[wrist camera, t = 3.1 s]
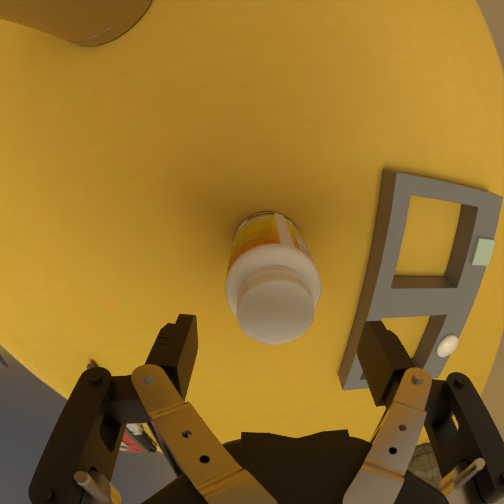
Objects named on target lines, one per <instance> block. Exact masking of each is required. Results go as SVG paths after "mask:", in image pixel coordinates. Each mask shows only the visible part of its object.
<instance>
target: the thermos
mask: <svg viewBox="0 0 504 504" xmlns="http://www.w3.org/2000/svg"><path fill="white" fill-rule="evenodd" d="M407 470H409V471H410V472H412V473H413V474H415V475H416V476H418V477H419V478H421V479H422V480H424V481H425V482H427V483H428V484H430V485H431V486H433V487H435V488H436V489H438V490H439V491H440V489H439V487H440V482H441V480H442V476H441V473H440V470H439V467H438V464H437V461H436V457H435V455H434V452H433V449H432V446H431V444H430V443H425V444H421V445H418V446H416V447H415V450H414V453H413V455H412V458H411V460H410V463H409V465H408V468H407Z"/></svg>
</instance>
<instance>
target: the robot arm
mask: <svg viewBox="0 0 504 504" xmlns="http://www.w3.org/2000/svg"><path fill="white" fill-rule="evenodd" d="M151 1H152V0H0V19H4V20H7V21H11V22H14V23H18V24H21V25H24V26H28V27H31V28H34V29H37V30H40V31H43V32H46V33H49V34H51V35H54V36H57V37H60V38H62V39H65V40H68V41H69V42H73V43H75V44H78V45H81V46H96V45H100V44H103V43H106V42H109V41H111V40H113V39H115V38H117V37H119V36H120V35H121V34H123V33H124V32H126V31H127V30H129V29H130V28H131V27H132V26H133V25H134V24H135V23H136V22H137V21H138V20H139V19H140V18H141V17H142V15H143V14H144V13H145V11H146V10H147V8H148V7H149V5H150V3H151ZM197 350H198V336H197V322H196V315H188V314H179V316H178V318H177V321H176V323H175V324H171V323H168V324H167V325H165V326H164V327H163V328H162V329H161V330H160V332H159V334H158V336H157V338H156V341H155V344H154V345H153V347H152V349H151V351H150V353H149V356H148V358H147V360H146V362H145V364H144V365H142V366H139V367H137V368H136V369H135V370H134V371H133V372H132V374H131V375H127V376H111V373H110V372H109V371H108V370H107V369H105V368H102V367H93V368H90V369H87V370H86V371H84V372H83V373H82V375H81V376H80V378H79V380H78V382H77V384H76V386H75V388H74V389H73V391H72V393H71V395H70V397H69V399H68V401H67V403H66V405H65V407H64V409H63V411H62V413H61V415H60V417H59V419H58V422H57V423H56V425H55V428H54V430H53V432H52V434H51V436H50V438H49V441H48V443H47V445H46V447H45V450H44V452H43V454H42V456H41V459H40V461H39V464H38V466H37V468H36V471H35V473H34V476H33V478H32V481H31V484H30V486H29V498H30V500H31V502H32V504H121V497H120V495H119V492H118V491H117V489H116V488H115V487H114V486H113V485H112V484H111V483H110V481H111V478H112V474H113V470H114V467H115V463H116V459H117V455H118V452H119V449H120V445H121V442H122V439H123V435H124V432H125V429H126V425H127V424H134V423H147V425H148V427H149V429H150V431H151V432H152V434H153V436H154V438H155V440H156V441H157V443H158V445H159V447H160V449H161V450H162V452H163V454H164V456H165V458H166V460H167V461H168V463H169V465H170V467H171V469H172V470H173V472H174V473H175V475H176V476H177V478H176V479H175V480H174V481H172V482H171V483H170V484H168V485H167V486H165V487H164V488H163V489H161V490H160V491H158V492H157V493H156V494H154V495H153V496H151V497H150V498H149V499H147V500H145V501H144V502H143V503H141V504H494V503H496V502H497V501H499V500H500V499H501V498H503V497H504V442H503V440H502V438H501V436H500V434H499V431H498V430H497V428H496V426H495V424H494V422H493V420H492V418H491V416H490V414H489V412H488V410H487V409H486V407H485V405H484V403H483V401H482V400H481V398H480V396H479V394H478V393H477V391H476V389H475V387H474V386H473V384H472V382H471V381H470V379H469V378H468V377H467V376H466V375H464V374H462V373H458V372H454V373H451V374H449V375H448V377H447V379H446V381H444V380H434V379H432V378H431V376H430V374H429V373H428V372H426V371H425V370H423V369H421V368H416V367H415V365H414V364H413V362H412V360H411V358H410V357H409V355H408V353H407V352H406V350H405V348H404V347H403V345H401V342H400V340H399V338H398V337H397V336H396V335H395V334H394V333H393V332H391V331H390V330H387V329H386V328H385V326H384V324H383V323H382V321H366V322H365V324H364V327H363V330H362V334H361V337H360V340H359V343H358V347H357V357H358V360H359V362H360V365H361V367H362V370H363V373H364V375H365V378H366V380H367V383H368V386H369V388H370V391H371V394H372V397H373V399H374V402H375V405H376V406H384V405H385V407H386V410H385V412H384V413H383V415H382V418H381V420H380V422H379V424H378V426H377V427H376V429H375V431H374V433H373V435H372V437H371V439H370V441H369V442H367V441H365V440H362V439H359V438H355V437H349V434H348V429H347V430H336V431H323V432H319V433H316V434H312V435H308V436H305V437H301V438H291V437H286V436H281V435H276V434H271V433H252V432H241V439H238V440H233V441H229V442H227V443H224V444H221V443H220V442H219V440H218V439H217V438H216V437H215V435H214V434H213V433H212V431H211V430H210V429H209V427H208V426H207V425H206V424H205V422H204V421H203V420H202V418H201V417H200V415H199V414H198V413H197V411H196V410H195V409H194V407H193V406H192V405H191V403H189V402H186V403H185V402H184V401H185V398H186V394H187V390H188V386H189V382H190V378H191V374H192V370H193V367H194V363H195V359H196V355H197ZM453 415H455V417H456V420H457V422H458V425H459V428H458V431H457V428H456V426H455V424H454V422H453V419H452V416H453ZM423 424H424V426H425V429H426V432H427V434H428V437H429V440H430V443H431V446H432V449H433V452H434V455H435V457H436V461H437V464H438V467H439V470H440V473H441V476H442V480H441V482H440V487H439V489H440V491H439V490H438V489H436V488H435V487H433V486H431V485H430V484H428V483H427V482H425V481H424V480H422V479H421V478H419V477H418V476H416V475H415V474H413V473H412V472H410V471H409V470H407V468H408V465H409V463H410V460H411V458H412V455H413V453H414V450H415V447H416V444H417V442H418V439H419V436H420V433H421V430H422V427H423Z"/></svg>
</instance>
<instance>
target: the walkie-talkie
mask: <svg viewBox="0 0 504 504" xmlns="http://www.w3.org/2000/svg"><path fill="white" fill-rule="evenodd" d="M90 368H93V366H92V365H91V364H88V365H87V369H90ZM156 450H157V448H156V447H155V446H154V445H153V444H152V440H151V439H150V438H149V437H148V436H147V435H146V434H145V433H144V432H143V428H142V427H141V423H134V424H127V425H126V429H125V432H124V435H123V439H122V442H121V445H120V449H119V451H121V452H122V453H124V454H131V455H148V453H149V451H150V452H156Z"/></svg>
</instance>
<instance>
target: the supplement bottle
mask: <svg viewBox="0 0 504 504" xmlns="http://www.w3.org/2000/svg"><path fill="white" fill-rule="evenodd" d="M225 293H226V299H227V302H228V305H229V307H230V309H231V310H232V312H233V313H234V314H235V315H236V316H237V320H238V323H239V325H240V327H241V329H242V330H243V331H244V333H245V334H247V335H248V336H249V337H250V338H252V339H254V340H256V341H258V342H261V343H264V344H283V343H287V342H290V341H293V340H295V339H297V338H298V337H300V336H301V335H302V334H303V333H305V332H306V331H307V329H308V328H309V327H310V325H311V323H312V321H313V318H314V310H315V306H316V304H317V303H318V300H319V297H320V293H321V281H320V276H319V273H318V270H317V267H316V265H315V263H314V261H313V259H312V257H311V254H310V252H309V250H308V247H307V245H306V243H305V241H304V239H303V237H302V235H301V233H300V231H299V229H298V227H297V226H296V225H295V224H294V223H293V222H292V221H291V220H290V219H289V218H287V217H285V216H284V215H281V214H278V213H273V212H264V213H259V214H256V215H253V216H251V217H249V218H248V219H246V220H245V221H244V222H243V223H242V224H241V225H240V227H239V228H238V230H237V232H236V234H235V237H234V240H233V245H232V251H231V255H230V261H229V267H228V272H227V277H226V284H225Z"/></svg>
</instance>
